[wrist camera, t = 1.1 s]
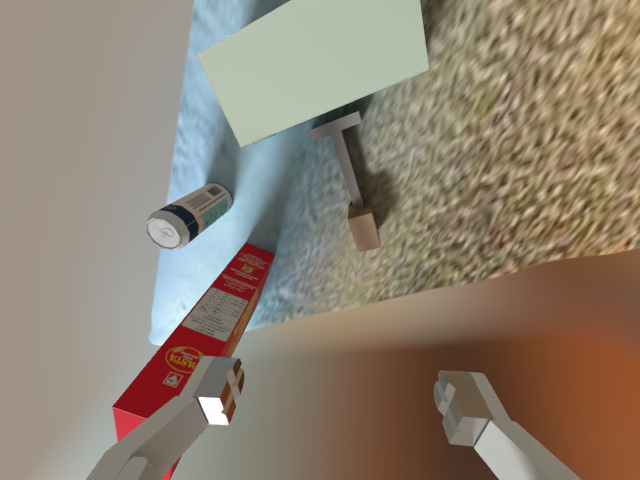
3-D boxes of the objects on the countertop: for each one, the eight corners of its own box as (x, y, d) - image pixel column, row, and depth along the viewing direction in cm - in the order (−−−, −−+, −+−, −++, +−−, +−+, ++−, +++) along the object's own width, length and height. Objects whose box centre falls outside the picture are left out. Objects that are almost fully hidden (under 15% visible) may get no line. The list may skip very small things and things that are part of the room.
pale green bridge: (394, -16, 22) (410, -71, 16) (409, 79, 26) (429, 69, 19) (236, 68, 27) (196, 55, 21) (266, 138, 31) (240, 147, 24)
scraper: (358, 110, 28) (358, 111, 24) (388, 227, 35) (392, 244, 30) (311, 129, 30) (304, 133, 25) (348, 237, 36) (347, 254, 32)
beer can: (197, 185, 36) (132, 218, 25) (225, 179, 34) (169, 210, 24) (212, 214, 38) (157, 255, 27) (238, 209, 37) (191, 250, 26)
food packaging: (254, 310, 47) (169, 481, 26) (229, 300, 47) (121, 466, 25) (275, 254, 40) (179, 429, 18) (245, 242, 39) (112, 406, 18)
